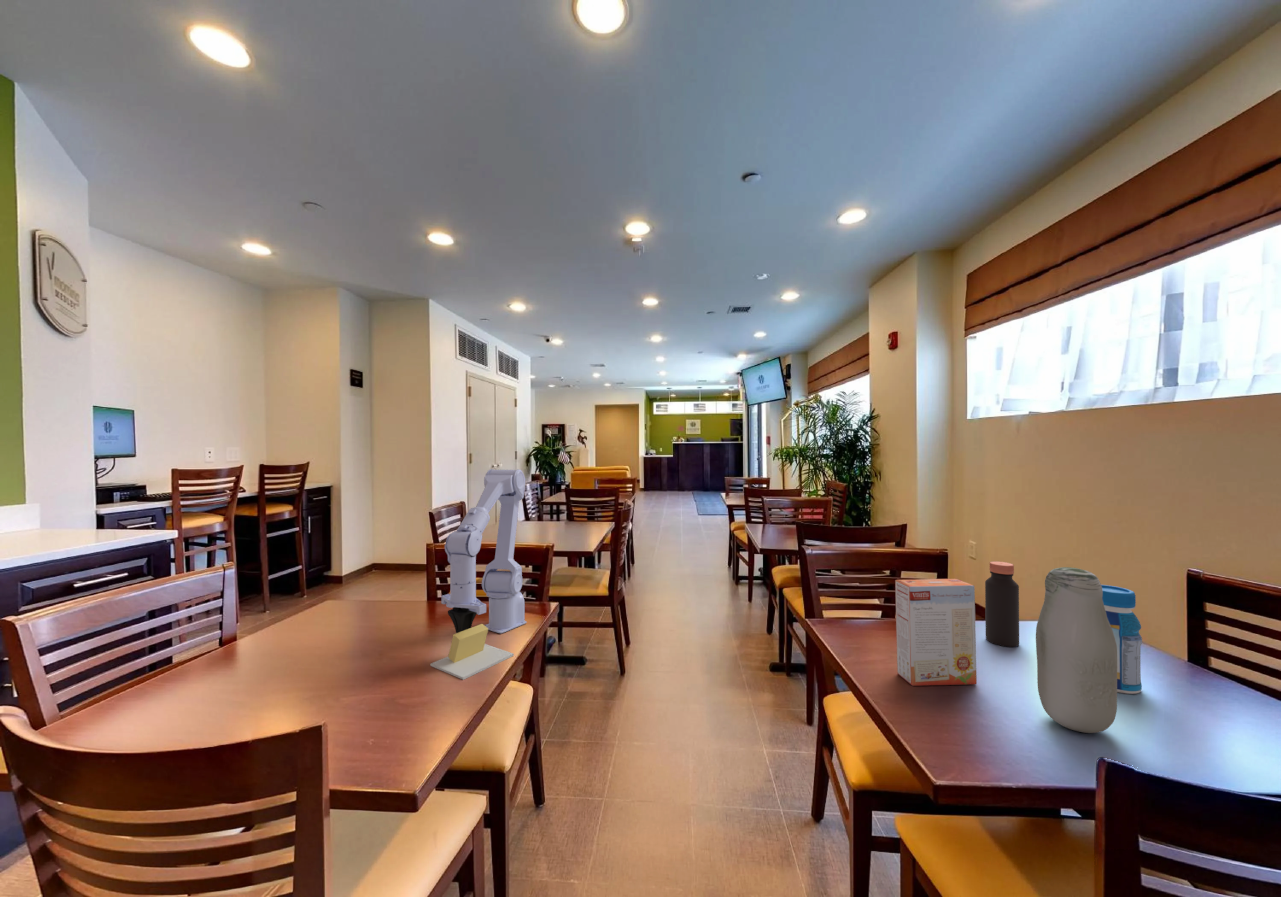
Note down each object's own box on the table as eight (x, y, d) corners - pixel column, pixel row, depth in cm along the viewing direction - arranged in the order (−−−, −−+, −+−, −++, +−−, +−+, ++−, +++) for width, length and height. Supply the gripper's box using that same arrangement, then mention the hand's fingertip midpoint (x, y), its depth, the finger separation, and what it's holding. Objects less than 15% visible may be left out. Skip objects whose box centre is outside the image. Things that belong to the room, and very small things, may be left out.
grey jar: (1074, 710, 87) (1072, 561, 87) (1134, 744, 77) (1132, 575, 77) (1023, 711, 87) (1021, 561, 87) (1076, 746, 77) (1074, 576, 77)
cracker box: (957, 672, 102) (956, 577, 103) (978, 686, 96) (977, 585, 97) (894, 673, 102) (894, 577, 102) (911, 686, 96) (910, 585, 96)
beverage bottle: (1150, 699, 91) (1149, 597, 91) (1091, 688, 95) (1090, 590, 95) (1133, 681, 98) (1132, 586, 98) (1079, 671, 102) (1078, 581, 103)
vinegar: (1026, 647, 115) (1025, 566, 115) (998, 647, 115) (997, 566, 115) (1005, 636, 122) (1004, 560, 122) (979, 636, 122) (978, 560, 122)
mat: (481, 644, 118) (481, 642, 118) (513, 655, 112) (513, 653, 112) (430, 665, 106) (430, 663, 106) (463, 679, 100) (463, 677, 100)
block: (477, 645, 115) (482, 623, 114) (483, 650, 114) (488, 628, 112) (448, 657, 108) (453, 634, 107) (454, 662, 107) (459, 640, 106)
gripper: (429, 580, 112) (429, 637, 112) (467, 590, 104) (467, 651, 104) (455, 574, 118) (455, 628, 118) (493, 583, 110) (493, 640, 110)
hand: (463, 638), depth 111 cm, fingers closed
